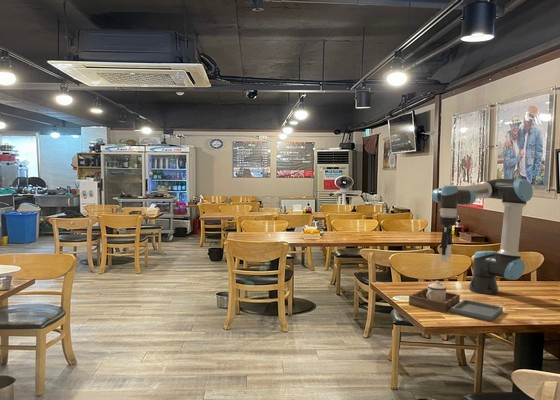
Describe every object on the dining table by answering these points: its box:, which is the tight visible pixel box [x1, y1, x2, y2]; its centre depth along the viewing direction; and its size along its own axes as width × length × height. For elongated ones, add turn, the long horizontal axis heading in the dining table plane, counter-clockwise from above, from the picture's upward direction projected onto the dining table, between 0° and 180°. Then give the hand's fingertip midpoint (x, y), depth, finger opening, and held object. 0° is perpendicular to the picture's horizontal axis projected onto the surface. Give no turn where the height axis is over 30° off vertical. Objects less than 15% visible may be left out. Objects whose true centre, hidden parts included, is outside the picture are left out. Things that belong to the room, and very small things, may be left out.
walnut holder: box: [408, 287, 461, 314], centre depth 217 cm, size 21×18×4 cm
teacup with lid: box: [425, 280, 448, 302], centre depth 216 cm, size 12×9×12 cm
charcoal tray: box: [450, 299, 504, 323], centre depth 205 cm, size 20×18×2 cm
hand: (445, 259), depth 212 cm, fingers open, 13 cm apart
